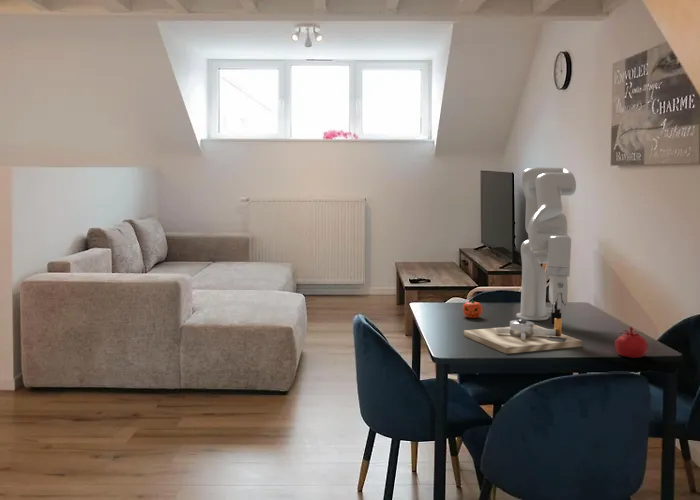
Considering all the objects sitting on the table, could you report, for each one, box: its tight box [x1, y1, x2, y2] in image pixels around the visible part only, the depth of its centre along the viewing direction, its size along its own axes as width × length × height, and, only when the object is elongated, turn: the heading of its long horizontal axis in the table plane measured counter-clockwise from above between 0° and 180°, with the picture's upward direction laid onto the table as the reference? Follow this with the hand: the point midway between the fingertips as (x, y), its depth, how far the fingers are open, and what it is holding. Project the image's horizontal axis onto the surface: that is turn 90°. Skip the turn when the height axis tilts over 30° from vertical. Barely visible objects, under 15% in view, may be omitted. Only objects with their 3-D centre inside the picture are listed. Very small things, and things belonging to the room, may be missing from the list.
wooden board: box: [463, 324, 583, 355], centre depth 245 cm, size 30×26×2 cm
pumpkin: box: [462, 299, 484, 319], centre depth 283 cm, size 8×8×7 cm
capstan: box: [495, 317, 563, 340], centre depth 244 cm, size 22×17×6 cm
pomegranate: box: [614, 326, 649, 359], centre depth 227 cm, size 10×10×9 cm
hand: (555, 323), depth 245 cm, fingers closed
